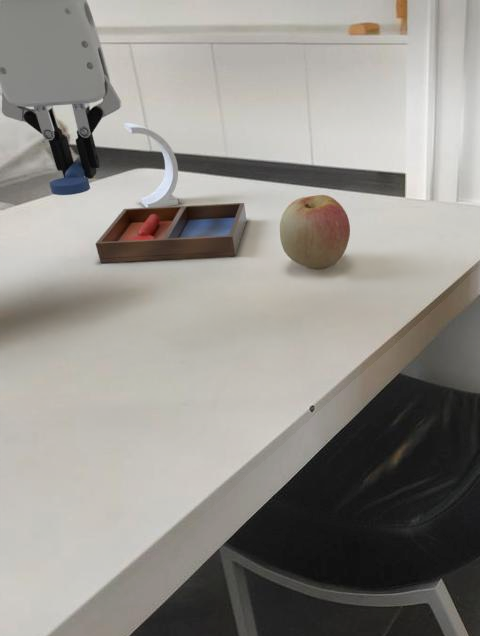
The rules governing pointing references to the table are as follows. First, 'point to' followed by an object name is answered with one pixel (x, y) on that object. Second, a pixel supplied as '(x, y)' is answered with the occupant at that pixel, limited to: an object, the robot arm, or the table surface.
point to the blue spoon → (71, 181)
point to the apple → (315, 231)
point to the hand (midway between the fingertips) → (80, 175)
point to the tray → (175, 233)
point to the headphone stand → (168, 184)
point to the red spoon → (147, 228)
